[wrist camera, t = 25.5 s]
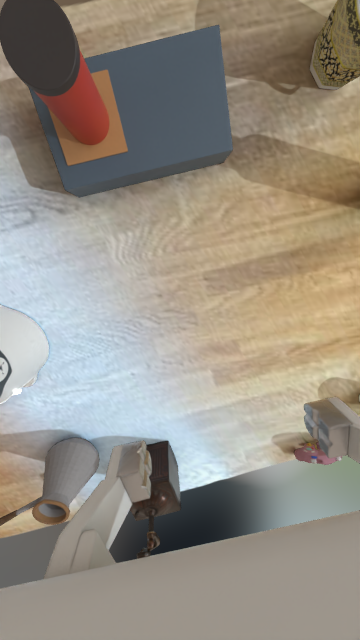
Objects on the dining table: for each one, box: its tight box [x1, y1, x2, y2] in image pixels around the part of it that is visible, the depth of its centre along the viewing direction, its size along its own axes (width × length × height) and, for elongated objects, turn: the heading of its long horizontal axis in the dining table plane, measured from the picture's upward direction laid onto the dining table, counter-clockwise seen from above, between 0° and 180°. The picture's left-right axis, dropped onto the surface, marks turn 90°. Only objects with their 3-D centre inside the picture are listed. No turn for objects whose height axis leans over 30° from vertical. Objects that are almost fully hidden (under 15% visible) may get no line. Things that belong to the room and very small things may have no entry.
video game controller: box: [294, 442, 342, 465], centre depth 53 cm, size 10×5×7 cm, turn 94°
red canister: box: [0, 0, 109, 145], centre depth 21 cm, size 6×6×11 cm
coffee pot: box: [0, 438, 99, 526], centre depth 44 cm, size 21×12×15 cm, turn 100°
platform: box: [29, 25, 233, 197], centre depth 29 cm, size 23×12×5 cm, turn 102°
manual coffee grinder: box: [130, 441, 181, 559], centre depth 46 cm, size 16×11×18 cm
